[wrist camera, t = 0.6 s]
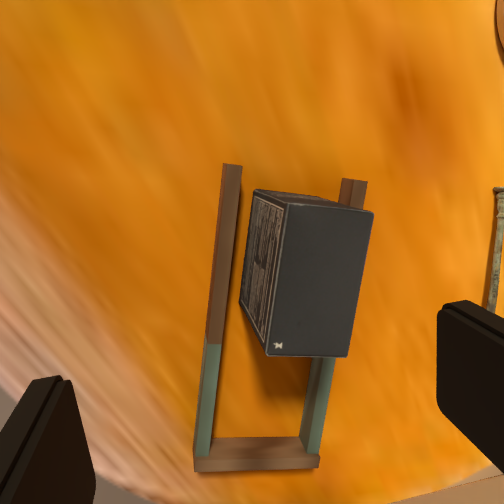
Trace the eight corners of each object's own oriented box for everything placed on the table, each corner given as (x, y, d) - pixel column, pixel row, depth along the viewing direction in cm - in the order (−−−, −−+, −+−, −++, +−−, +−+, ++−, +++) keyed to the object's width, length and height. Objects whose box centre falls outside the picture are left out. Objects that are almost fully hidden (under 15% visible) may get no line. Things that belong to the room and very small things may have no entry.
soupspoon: (435, 387, 45) (486, 380, 47) (457, 406, 42) (510, 398, 44) (468, 184, 40) (525, 184, 41) (496, 189, 36) (556, 188, 38)
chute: (354, 179, 37) (370, 182, 34) (308, 446, 43) (318, 468, 40) (223, 163, 34) (228, 164, 32) (192, 449, 40) (194, 472, 37)
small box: (305, 308, 39) (351, 362, 29) (236, 304, 38) (261, 360, 28) (323, 195, 37) (381, 212, 27) (252, 187, 35) (284, 201, 25)
